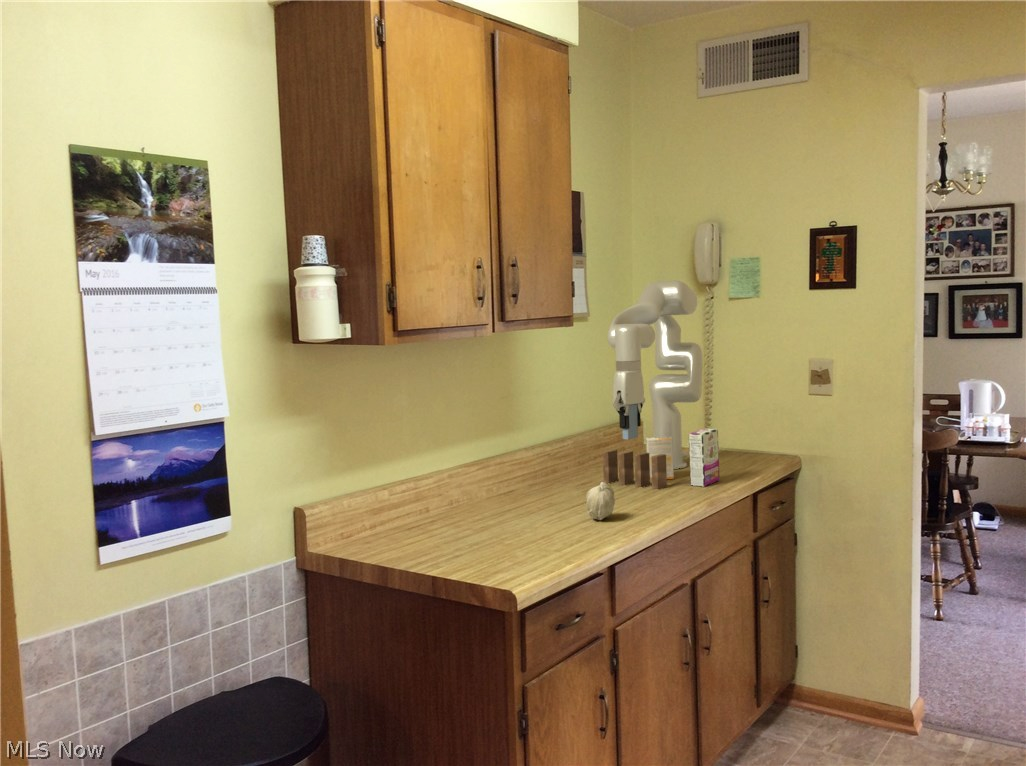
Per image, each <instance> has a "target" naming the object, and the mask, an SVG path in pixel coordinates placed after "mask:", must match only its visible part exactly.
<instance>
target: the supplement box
mask: <svg viewBox="0 0 1026 766" xmlns="http://www.w3.org/2000/svg"><path fill="white" fill-rule="evenodd" d="M645 442H646V443H645V445H646V453H649V459H650V479H652V461H651V456H655V455H658V454H666V472H667V480H674V479H675V472H674V471H675V469H674V464H673V439H672V438H671V437H646V438H645Z"/></svg>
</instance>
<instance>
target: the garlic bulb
mask: <svg viewBox="0 0 1026 766" xmlns="http://www.w3.org/2000/svg"><path fill="white" fill-rule="evenodd" d="M585 501H586V505H585V506H586V512H587V514H588V515H589V516H590V518H592V519H593V520H595V519H597V520H598V521H602V520H603V519H605V518H608V517H609V516H611V515H613V511H614V510H615V508H614V507H615V503H616V499H615V491H614V489H613V488H612V487H611V485H609V484H607V483H605V482H604V481H601V482H600V484H599V485H597V486H594V487H592V488H589V490H588V491H587V493H586V494H585Z"/></svg>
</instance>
